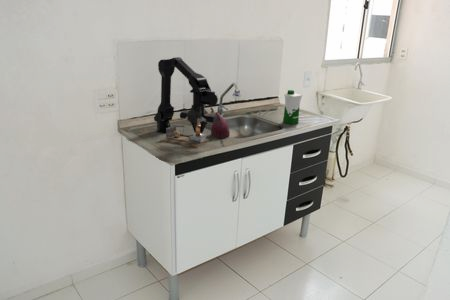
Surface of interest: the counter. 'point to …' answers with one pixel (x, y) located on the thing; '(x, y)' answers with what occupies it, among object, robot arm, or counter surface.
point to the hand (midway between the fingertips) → (198, 133)
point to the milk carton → (291, 107)
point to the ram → (197, 135)
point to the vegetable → (220, 128)
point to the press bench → (180, 138)
